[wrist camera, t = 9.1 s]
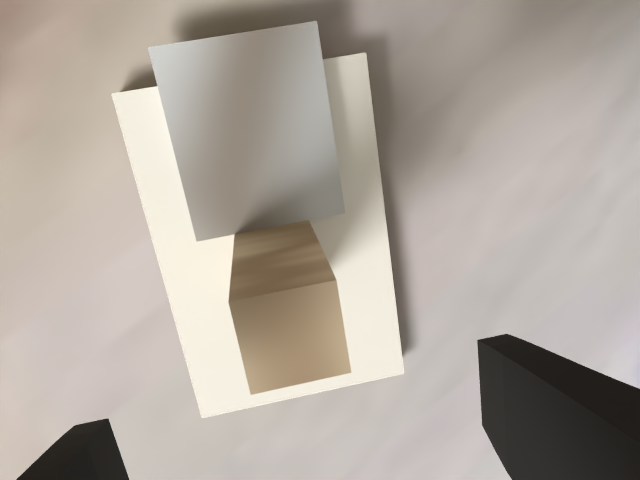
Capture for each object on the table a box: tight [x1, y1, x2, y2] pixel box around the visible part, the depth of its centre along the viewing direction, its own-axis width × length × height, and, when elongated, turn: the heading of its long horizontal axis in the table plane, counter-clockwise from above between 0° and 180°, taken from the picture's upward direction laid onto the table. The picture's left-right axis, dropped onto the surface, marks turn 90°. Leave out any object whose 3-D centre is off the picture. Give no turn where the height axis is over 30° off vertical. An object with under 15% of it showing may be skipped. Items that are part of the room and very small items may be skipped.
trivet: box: [112, 52, 404, 418], centre depth 18 cm, size 8×12×1 cm, turn 9°
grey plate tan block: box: [148, 21, 351, 395], centre depth 13 cm, size 5×8×6 cm, turn 9°
